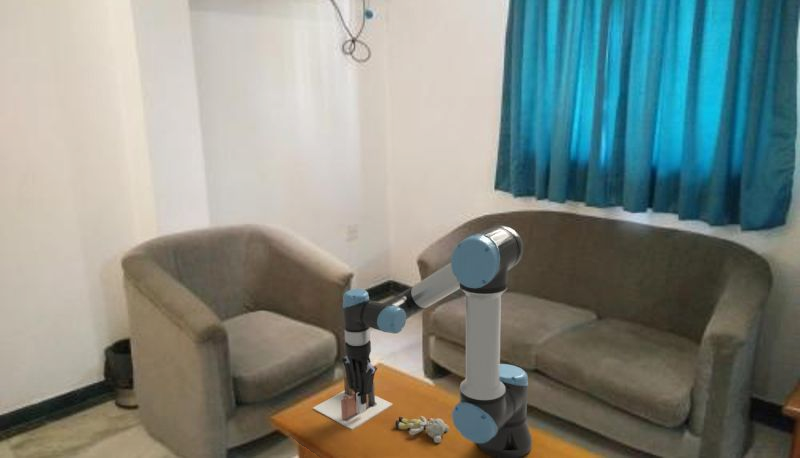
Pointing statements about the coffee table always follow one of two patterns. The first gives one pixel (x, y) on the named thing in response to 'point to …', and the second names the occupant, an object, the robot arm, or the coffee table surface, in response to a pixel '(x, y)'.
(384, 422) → the coffee table surface
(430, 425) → the toy
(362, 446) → the coffee table surface
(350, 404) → the fence panel
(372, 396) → the fence fixed
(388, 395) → the coffee table surface
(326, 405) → the card
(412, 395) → the coffee table surface
